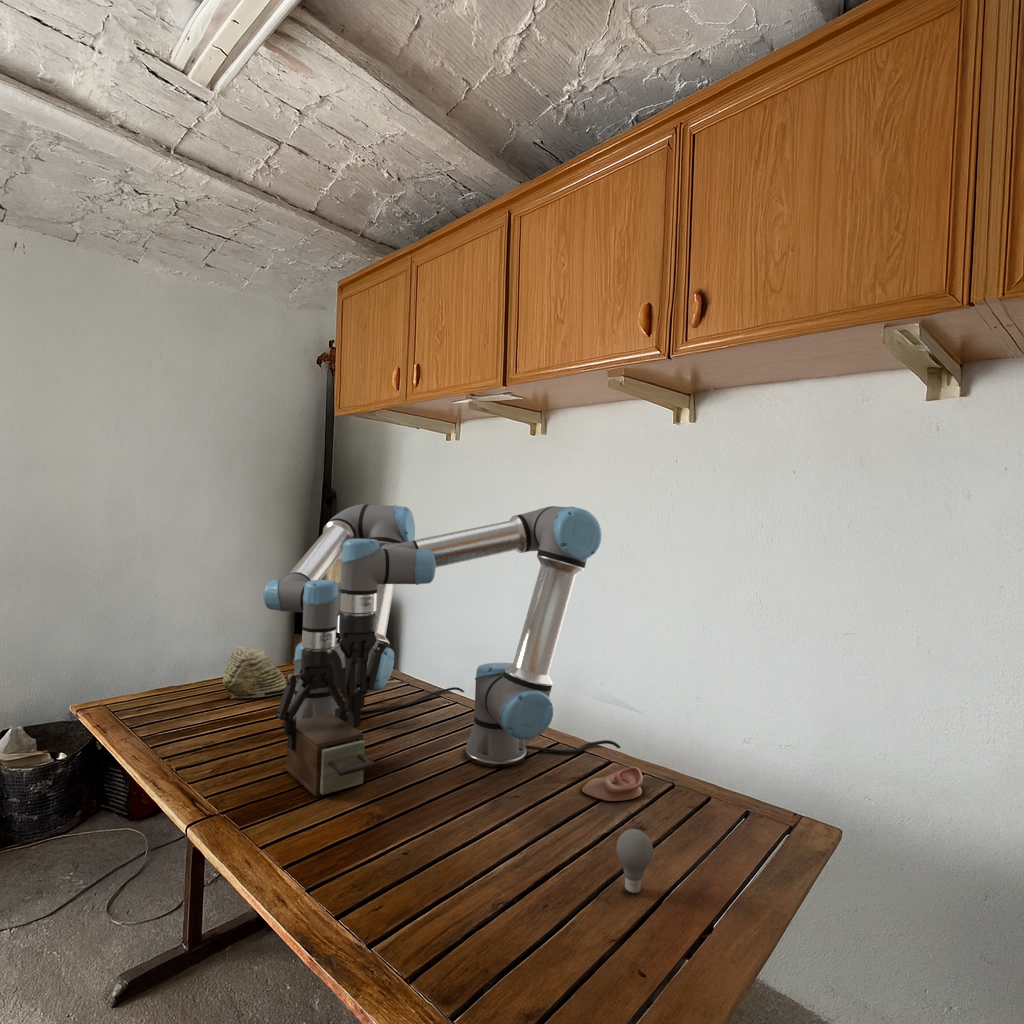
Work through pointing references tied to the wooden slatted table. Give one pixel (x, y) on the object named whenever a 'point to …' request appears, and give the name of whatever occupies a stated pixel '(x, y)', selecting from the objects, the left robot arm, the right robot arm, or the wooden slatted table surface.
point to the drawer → (343, 766)
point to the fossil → (252, 674)
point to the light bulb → (634, 857)
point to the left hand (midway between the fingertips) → (315, 742)
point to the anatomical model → (616, 785)
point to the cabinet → (316, 747)
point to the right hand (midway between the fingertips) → (353, 724)
